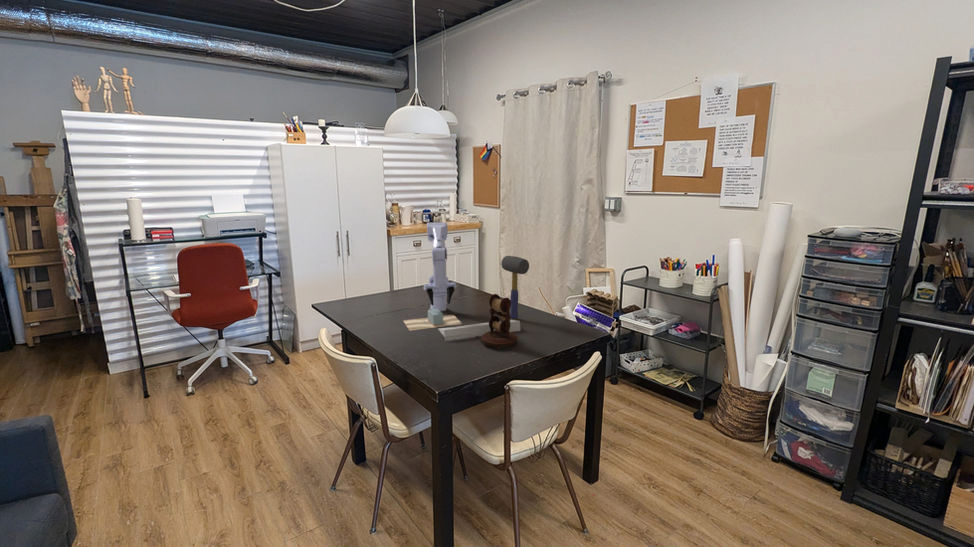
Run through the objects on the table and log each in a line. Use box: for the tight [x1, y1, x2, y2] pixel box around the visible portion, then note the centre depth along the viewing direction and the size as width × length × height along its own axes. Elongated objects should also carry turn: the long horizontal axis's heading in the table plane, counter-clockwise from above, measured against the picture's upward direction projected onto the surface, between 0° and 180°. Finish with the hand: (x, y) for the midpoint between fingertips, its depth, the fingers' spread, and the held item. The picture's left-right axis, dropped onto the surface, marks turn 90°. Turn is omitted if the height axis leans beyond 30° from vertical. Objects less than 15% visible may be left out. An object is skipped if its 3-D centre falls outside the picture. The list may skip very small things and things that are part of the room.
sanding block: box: [427, 309, 444, 326], centre depth 204 cm, size 8×4×5 cm, turn 26°
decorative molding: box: [438, 319, 521, 342], centre depth 197 cm, size 34×5×10 cm
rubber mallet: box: [500, 255, 530, 321], centre depth 210 cm, size 12×8×30 cm, turn 41°
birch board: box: [402, 314, 463, 332], centre depth 205 cm, size 14×24×2 cm, turn 111°
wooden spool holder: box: [480, 293, 519, 350], centre depth 183 cm, size 15×15×20 cm
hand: (440, 303), depth 205 cm, fingers open, 7 cm apart
